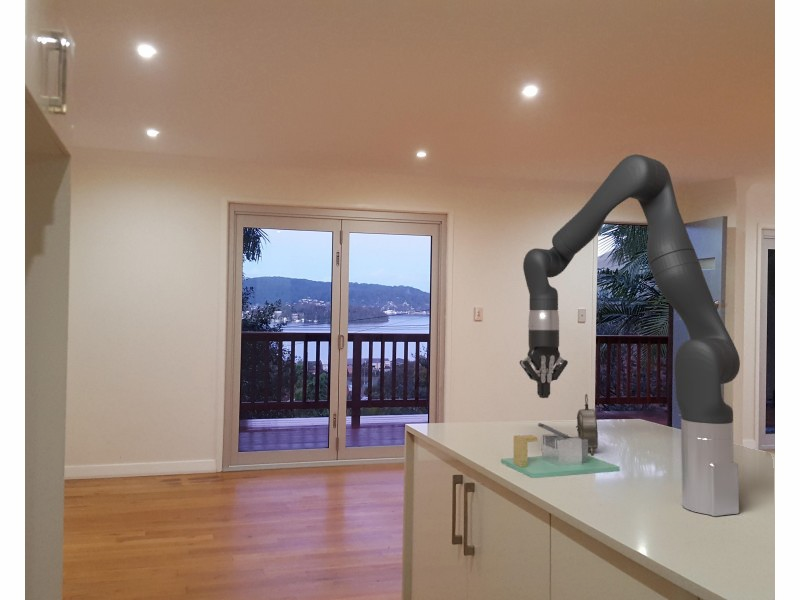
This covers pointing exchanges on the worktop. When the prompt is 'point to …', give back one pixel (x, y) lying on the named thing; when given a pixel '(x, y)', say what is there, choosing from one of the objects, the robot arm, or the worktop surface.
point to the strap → (553, 430)
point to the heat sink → (564, 450)
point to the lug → (522, 449)
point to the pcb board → (545, 469)
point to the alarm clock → (588, 426)
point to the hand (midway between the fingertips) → (543, 397)
